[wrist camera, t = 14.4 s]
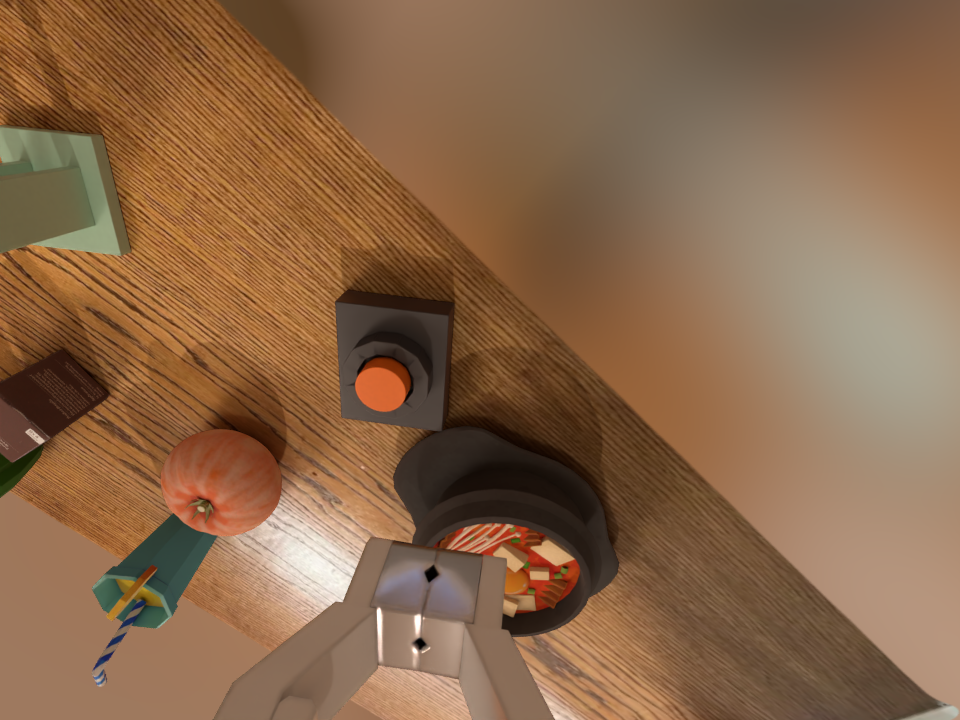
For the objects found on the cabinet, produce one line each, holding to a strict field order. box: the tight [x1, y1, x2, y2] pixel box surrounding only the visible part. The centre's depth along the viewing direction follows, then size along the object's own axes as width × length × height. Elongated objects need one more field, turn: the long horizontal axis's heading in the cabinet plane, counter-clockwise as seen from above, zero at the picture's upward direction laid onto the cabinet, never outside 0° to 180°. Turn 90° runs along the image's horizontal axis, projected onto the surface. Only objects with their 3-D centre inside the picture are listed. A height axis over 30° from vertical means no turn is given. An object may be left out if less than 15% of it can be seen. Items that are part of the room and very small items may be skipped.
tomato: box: [161, 429, 282, 536], centre depth 48 cm, size 11×11×8 cm
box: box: [0, 350, 110, 462], centre depth 47 cm, size 6×6×7 cm
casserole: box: [393, 426, 619, 637], centre depth 47 cm, size 25×19×8 cm
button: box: [355, 357, 411, 412], centre depth 40 cm, size 4×4×2 cm
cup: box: [92, 513, 217, 686], centre depth 51 cm, size 14×8×15 cm, turn 158°
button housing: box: [335, 290, 455, 432], centre depth 42 cm, size 11×9×4 cm
